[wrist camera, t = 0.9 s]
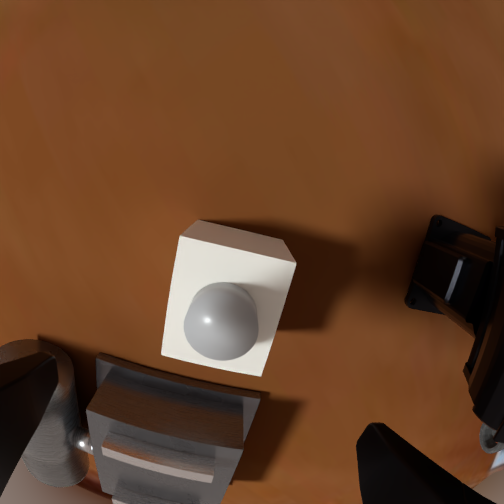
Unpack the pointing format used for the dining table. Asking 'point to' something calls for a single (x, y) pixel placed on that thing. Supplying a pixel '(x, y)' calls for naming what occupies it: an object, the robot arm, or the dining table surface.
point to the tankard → (489, 440)
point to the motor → (139, 431)
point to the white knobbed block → (226, 297)
